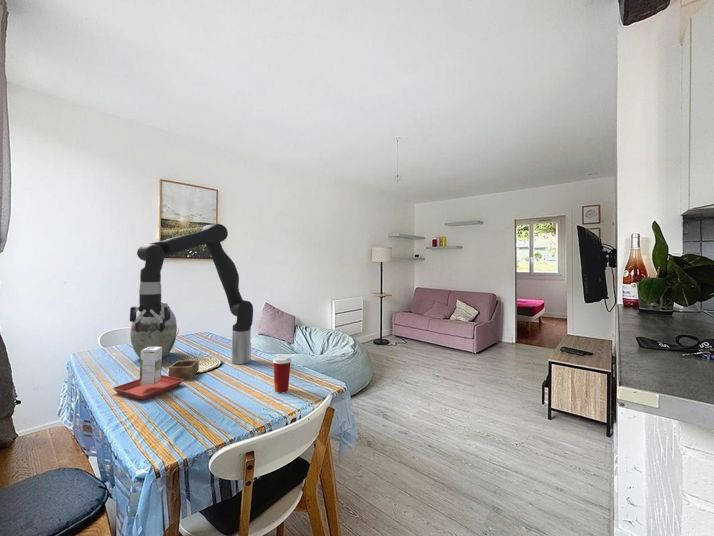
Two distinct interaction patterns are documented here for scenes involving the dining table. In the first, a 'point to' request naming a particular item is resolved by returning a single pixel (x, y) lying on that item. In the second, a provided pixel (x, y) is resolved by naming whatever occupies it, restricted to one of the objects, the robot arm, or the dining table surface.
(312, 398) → the dining table surface
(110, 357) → the dining table surface
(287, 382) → the paper cup
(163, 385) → the plant saucer
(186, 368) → the holder
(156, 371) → the syrup box
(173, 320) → the vase
